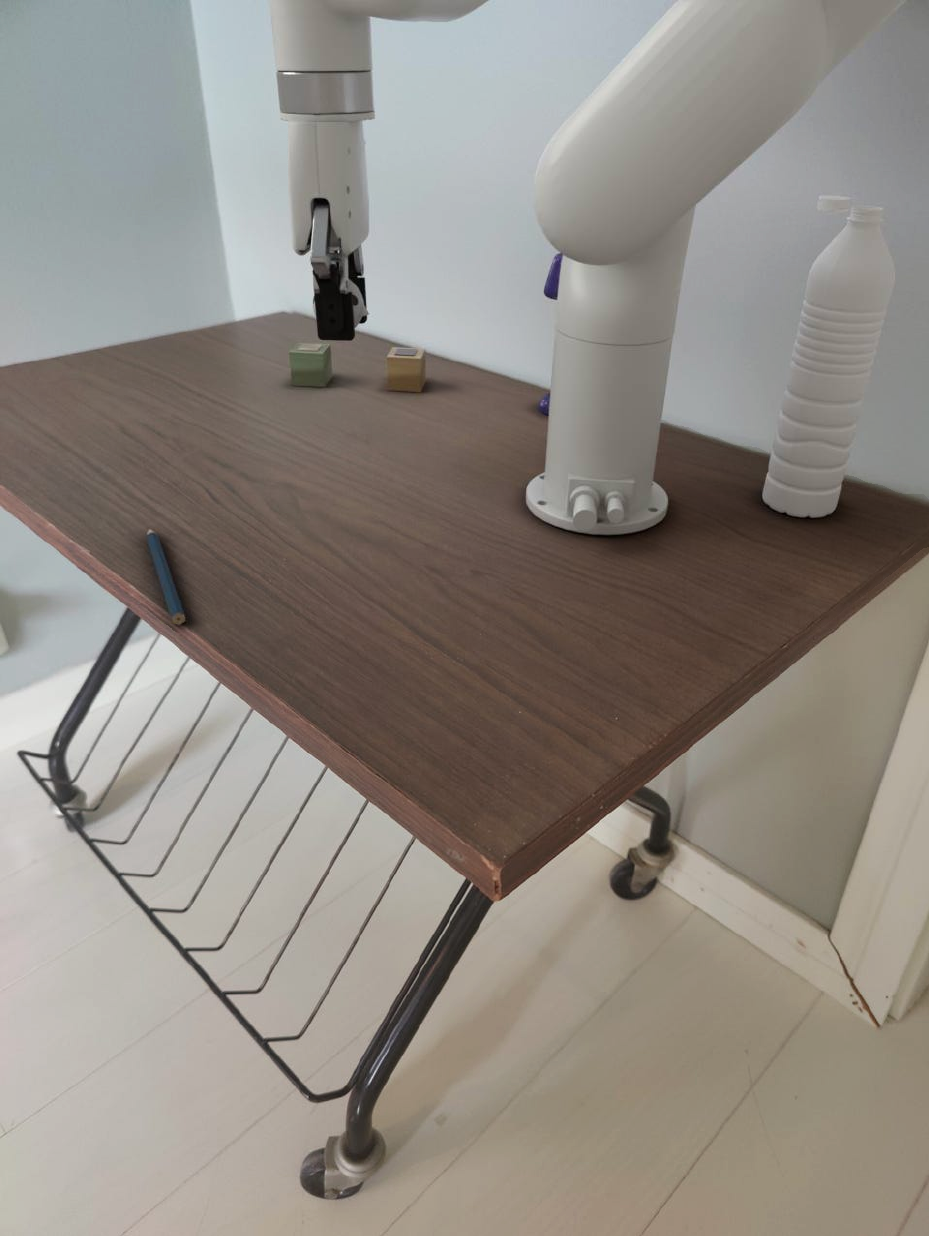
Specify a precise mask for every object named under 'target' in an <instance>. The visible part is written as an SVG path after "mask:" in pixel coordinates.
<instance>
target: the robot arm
mask: <svg viewBox="0 0 929 1236" xmlns="http://www.w3.org/2000/svg"><path fill="white" fill-rule="evenodd" d="M489 1H490V0H269V10H270V22H271V30H272V31H271V32H272V41H273V52H274V59H275V60H274V61H275V70H276V72H275V75H276V84H277V85H276V86H277V93H278V105H279V114H280V120H281V121H285V122H288V124H287V125H288V128H287V170H288V171H287V172H288V174H287V175H288V192H289V193H288V194H289V195H288V196H289V210H290V211H289V212H290V229H291V230H290V231H291V243H292V249H293V251H294V253H296V254H297V255H298V256H303V257H304V256H305V255H307V254H308V253H310V255H309V257H310V260H309V262H310V265H311V268H312V280H313V281H312V282H313V283H312V284H313V294H314V295H313V298H315V309H316V316H315V320H316V332H317V339H319V340H321V341H337V342H339V341H344V342H345V341H346V342H351V341H353V340H354V339H355V337H356V328H355V325H354V310H353V295H352V292H348V279H350V280H351V281H352V282H353V283H354V284H355V285H356V286H357V287H358V288H359V290H360V293H361V295H362V297H363V301H364V306H365V307H366V309H367V308H368V306H367V291H366V289H367V288H366V277H365V276H364V275H365V273H364V272H365V266H364V257H363V251H362V250H363V248H362V244H363V243H364V242H365V241H366V240H367V239H368V236H369V233H370V197H369V196H370V195H369V180H368V165H367V155H366V154H367V153H366V140H365V132H364V122H363V121H371V120H372V121H373V120H375V119H376V111H375V109H376V108H375V88H374V71H373V70H374V67H373V49H372V47H373V46H372V45H373V44H372V27H371V18H376V19H382V20H387V21H396V22H412V23H414V22H415V23H416V22H426V23H427V22H428V23H448V22H452V21H455V20H459V19H461V18H463V17H465V16H467V15H469V14H471V13H473V12H474V11H475V10H477V9H479V8H480V7H481V6H483V5H484V4H486V3H487V2H489ZM906 1H907V0H677V1H676V2H674V4H673V5H672V6H671V7H670V8H669V9H668V10H667V11H666V12H665V13H664V14H663V15H662V16H661V17H660V18H659V20H658V21H657V22H656V23H655V24H654V25H652V27H651V28H650V29H649V31H647V33H646V34H645V35H644V36H643V37H642V38H641V39H640V40H639V41H638V42H637V43H636V44H635V46H634V47H633V48H632V49H630V51H629V52H628V53H627V54H626V55H625V56H624V57H623V58H622V60H621V61H620V62H619V63H618V64H617V65H616V66H615V67H614V68H613V69H612V70H611V71H610V73H608V75H607V76H606V77H605V78H604V79H603V80H602V81H601V82H600V83H599V85H598V86H597V87H596V88H595V89H594V90H593V91H592V92H591V93H590V94H589V95H588V96H587V97H586V98H585V100H584V101H583V102H581V104H580V105H578V107H577V108H576V109H575V110H574V111H573V113H571V115H569V117H568V118H567V119H566V120H565V122H563V123H562V124H561V126H560V127H559V128H558V129H557V131H556V132H555V133H554V134H553V135H552V137H551V139H550V140H549V141H548V143H547V145H546V146H545V148H544V149H543V152H542V154H541V156H540V159H539V161H538V164H537V167H536V171H535V175H534V179H533V206H534V213H535V217H536V220H537V223H538V226H539V228H540V230H541V232H542V234H543V236H544V237H545V238H546V240H547V241H548V243H549V244H550V245H551V246H552V247H553V248H554V249H555V250H556V251H557V252H558V253H561V254H563V258H562V265H561V271H560V279H559V288H558V298H557V300H556V311H555V313H556V314H555V325H554V333H553V334H554V335H553V349H552V351H553V352H552V364H551V378H550V390H549V391H550V392H549V393H550V405H549V415H548V420H547V421H548V422H547V435H546V448H545V449H546V450H545V464H544V472H542V473H540V474H539V475H536V476H535V477H534V478H532V479H531V480H530V481H529V482H528V485H527V486H526V491H525V503H526V506H527V508H528V509H529V510H530V512H531V513H532V514H533V515H534V516H535V517H536V518H539V519H540V520H542V521H543V522H544V523H547V524H549V525H552V526H554V527H557V528H560V529H562V530H566V531H570V532H574V533H578V534H579V533H580V534H586V535H595V536H597V535H598V536H616V535H627V534H634V533H638V532H642V531H645V530H647V529H650V528H652V527H654V526H655V525H657V524H659V523H660V522H661V521H662V520H664V518H665V517H666V515H667V512H668V506H669V497H668V495H667V492H666V491H665V489H664V488H662V486H660V485H659V484H658V483H657V482H655V481H654V475H655V469H656V461H657V455H658V454H657V453H658V445H659V439H660V432H661V425H662V417H663V412H664V403H665V396H666V389H667V381H668V374H669V368H670V360H671V353H672V347H673V346H672V345H673V339H674V335H675V330H676V322H677V314H678V308H679V301H680V293H681V288H682V281H683V276H684V270H685V269H684V268H685V264H686V257H687V252H688V247H689V243H690V238H691V232H692V228H693V223H694V217H695V212H696V207H697V204H699V202H701V201H702V200H703V199H704V198H705V197H706V196H708V195H709V194H710V193H711V192H712V191H713V190H714V189H715V188H716V187H717V186H719V185H720V184H721V183H722V182H723V181H724V180H726V179H727V178H728V177H730V175H732V173H734V172H735V171H736V170H737V169H738V168H739V167H740V166H741V165H742V164H743V163H744V162H746V161H747V160H748V159H749V158H750V157H751V156H752V155H754V153H755V152H756V151H758V150H759V149H760V148H761V147H762V146H763V145H765V143H766V142H768V141H769V140H770V139H771V138H772V137H773V136H774V135H775V134H776V133H778V132H779V130H780V129H782V128H783V127H784V126H785V125H786V124H787V123H788V122H790V120H791V119H792V118H793V117H795V115H797V113H798V112H799V111H800V110H801V109H802V108H803V107H804V105H806V103H807V102H808V100H809V99H810V98H811V96H812V95H813V94H814V92H815V91H816V90H817V88H818V87H819V85H821V83H822V82H823V81H824V80H825V79H826V78H827V77H828V76H829V75H830V74H831V73H832V72H833V71H834V70H835V69H836V68H837V67H838V66H839V65H840V64H842V62H843V61H844V60H845V59H846V58H847V57H849V56H850V54H852V53H853V52H854V51H855V50H857V48H859V46H860V45H861V44H863V43H864V42H865V41H866V40H867V39H868V38H869V37H871V35H872V34H874V32H876V31H877V29H879V28H880V27H881V26H882V25H883V24H885V22H886V21H887V20H888V19H889V18H890V17H891V16H893V14H894V13H895V12H897V10H898V9H899V8H900V7H901V6H902V5H903V4H905V2H906ZM367 310H368V309H367ZM367 321H368V315H366V316H362V318H361V320H360V322H359V324H358V325H362V324H363V325H364V324H366V322H367Z"/></svg>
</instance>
